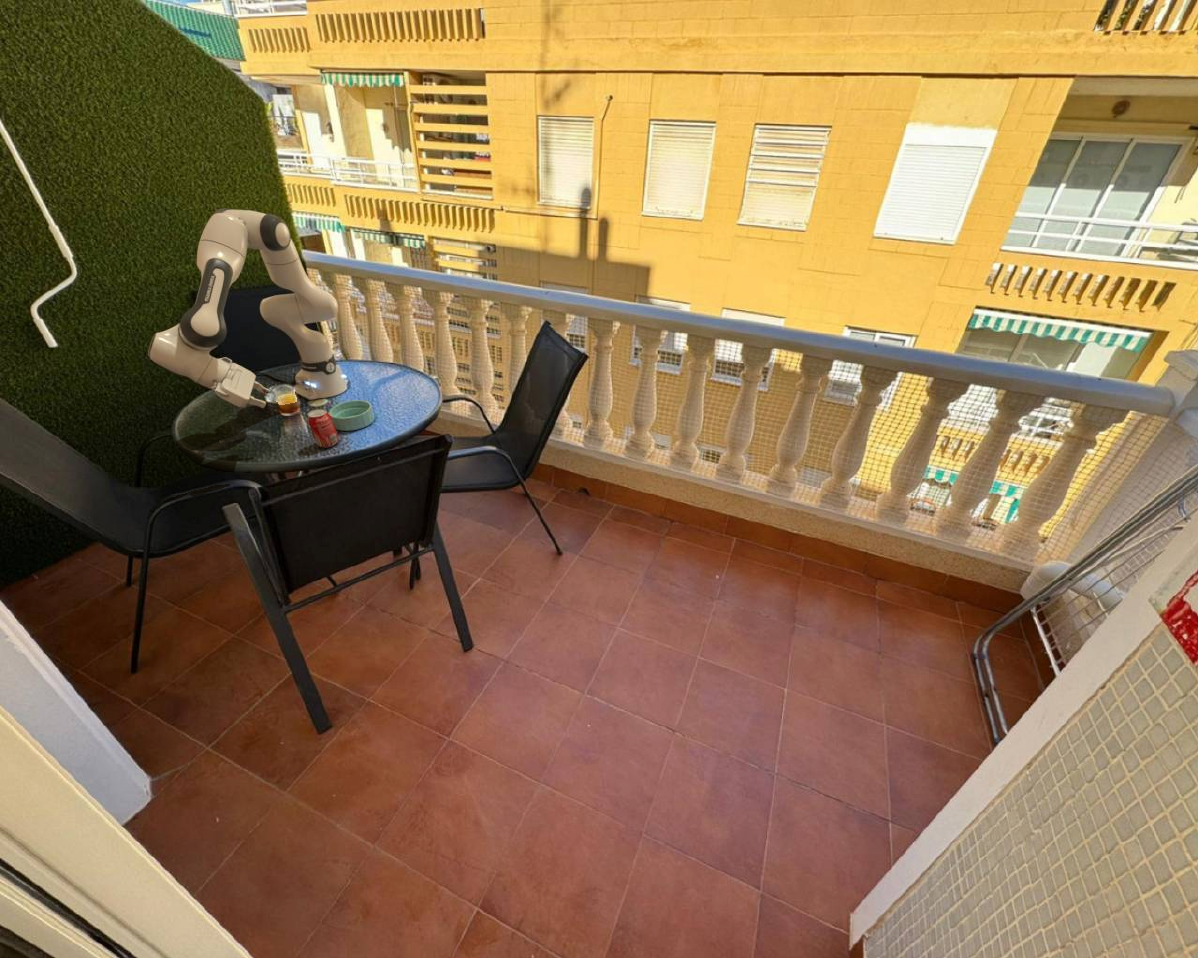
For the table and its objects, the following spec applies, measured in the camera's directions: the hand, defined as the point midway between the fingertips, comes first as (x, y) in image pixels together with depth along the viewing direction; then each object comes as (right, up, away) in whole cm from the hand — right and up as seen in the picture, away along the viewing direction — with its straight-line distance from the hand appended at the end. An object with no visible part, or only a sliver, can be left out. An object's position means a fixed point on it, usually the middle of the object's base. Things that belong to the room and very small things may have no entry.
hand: (266, 399), depth 156 cm
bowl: (+14, -4, +28) cm, 31 cm away
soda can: (+11, -13, +15) cm, 23 cm away
